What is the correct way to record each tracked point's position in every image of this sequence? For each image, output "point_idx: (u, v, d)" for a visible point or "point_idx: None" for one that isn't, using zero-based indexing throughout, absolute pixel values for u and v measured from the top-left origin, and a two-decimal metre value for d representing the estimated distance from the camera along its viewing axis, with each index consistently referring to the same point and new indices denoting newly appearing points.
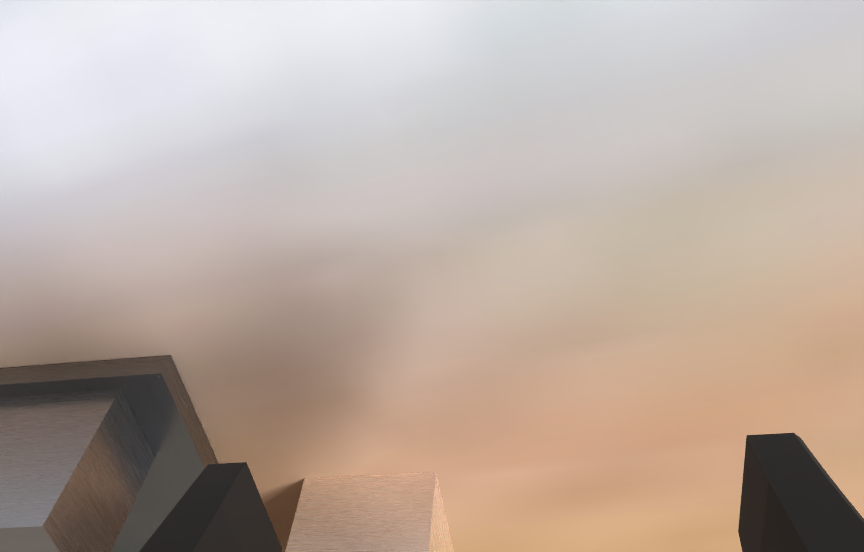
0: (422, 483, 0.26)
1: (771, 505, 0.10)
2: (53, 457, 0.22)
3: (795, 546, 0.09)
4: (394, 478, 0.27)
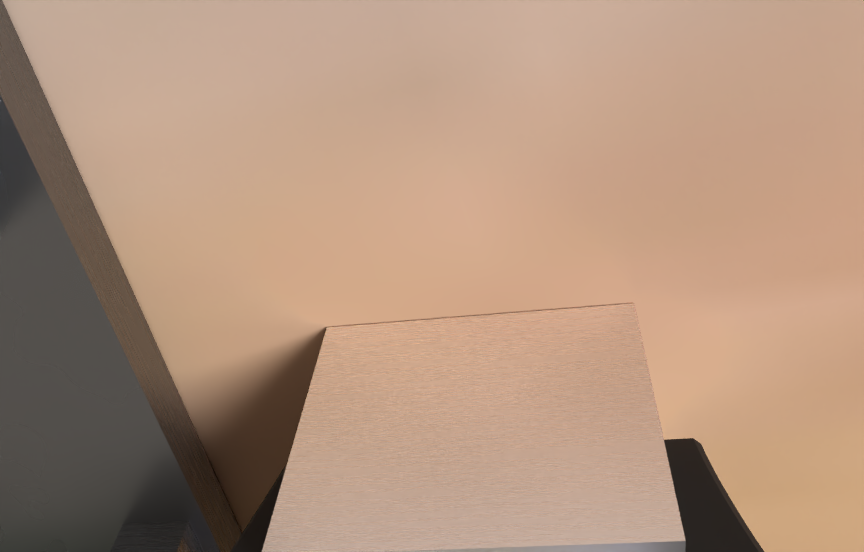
0: (608, 330, 0.11)
1: None
2: None
3: None
4: (536, 325, 0.11)
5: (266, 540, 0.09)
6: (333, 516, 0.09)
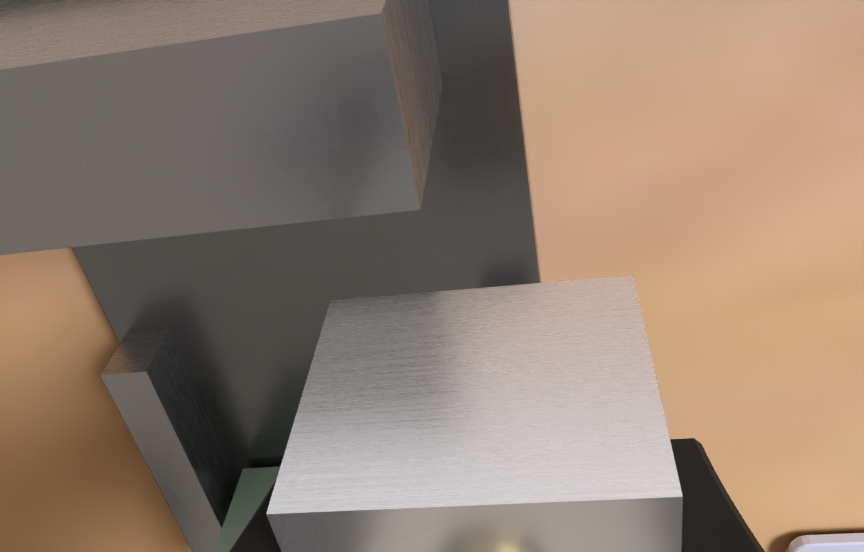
0: (608, 301, 0.11)
1: None
2: None
3: None
4: (536, 295, 0.12)
5: (271, 499, 0.09)
6: (338, 476, 0.09)
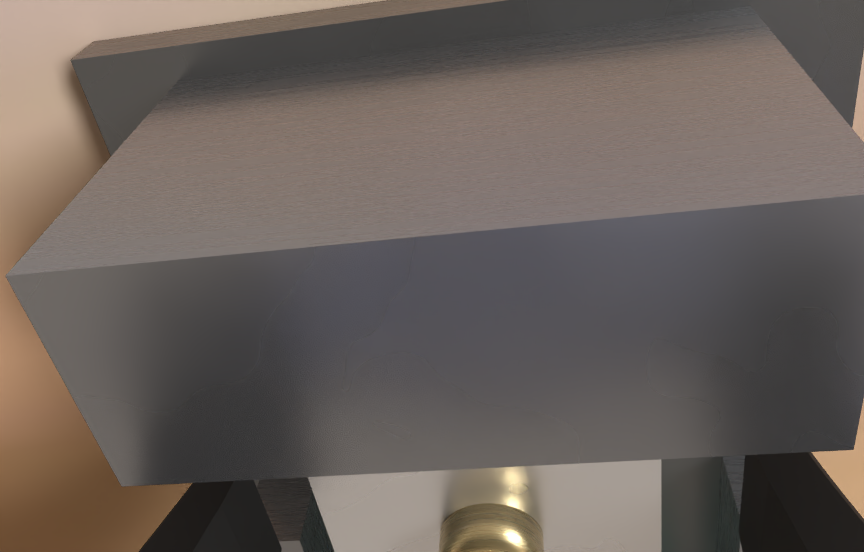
0: None
1: (771, 505, 0.10)
2: (727, 92, 0.09)
3: (795, 546, 0.09)
4: None
5: None
6: None
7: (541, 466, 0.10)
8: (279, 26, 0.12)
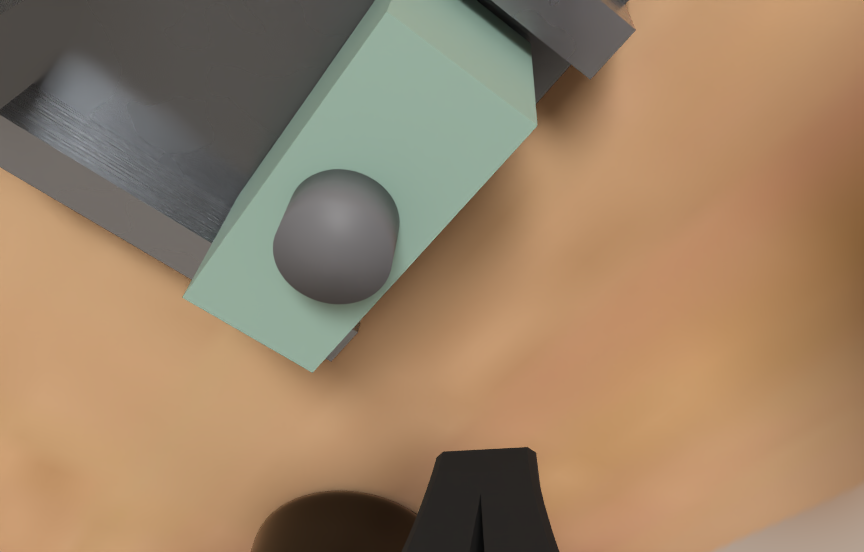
0: None
1: None
2: None
3: None
4: None
5: None
6: None
7: None
8: None
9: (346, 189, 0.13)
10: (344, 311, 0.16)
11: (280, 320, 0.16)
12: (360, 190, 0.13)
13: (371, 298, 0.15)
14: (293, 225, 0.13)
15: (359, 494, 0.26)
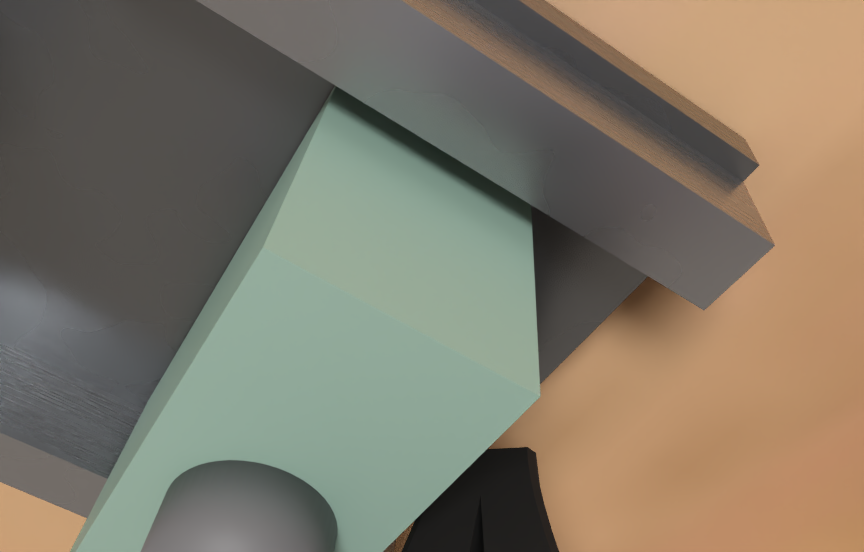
0: None
1: None
2: None
3: None
4: None
5: None
6: None
7: None
8: None
9: (235, 509, 0.08)
10: None
11: None
12: (258, 507, 0.08)
13: None
14: None
15: None
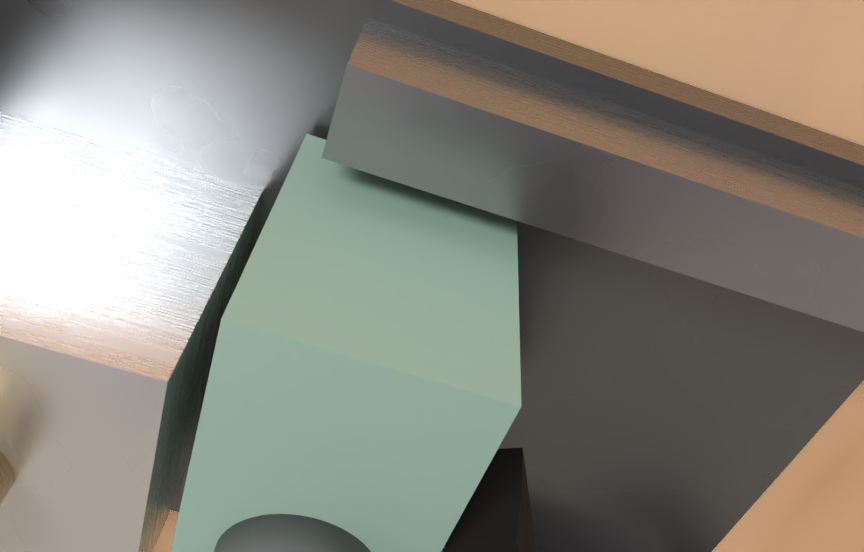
0: None
1: None
2: None
3: None
4: None
5: None
6: None
7: None
8: None
9: None
10: None
11: None
12: None
13: None
14: None
15: None
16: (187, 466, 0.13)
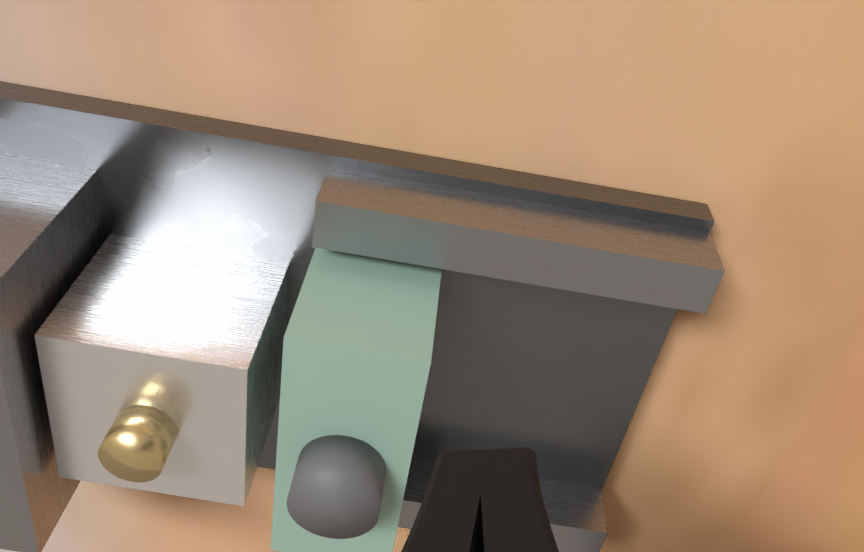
0: None
1: None
2: None
3: None
4: None
5: None
6: None
7: (83, 392, 0.18)
8: None
9: (322, 457, 0.17)
10: (382, 522, 0.19)
11: (343, 542, 0.20)
12: (332, 454, 0.17)
13: (396, 508, 0.19)
14: (295, 500, 0.17)
15: None
16: (268, 429, 0.22)
